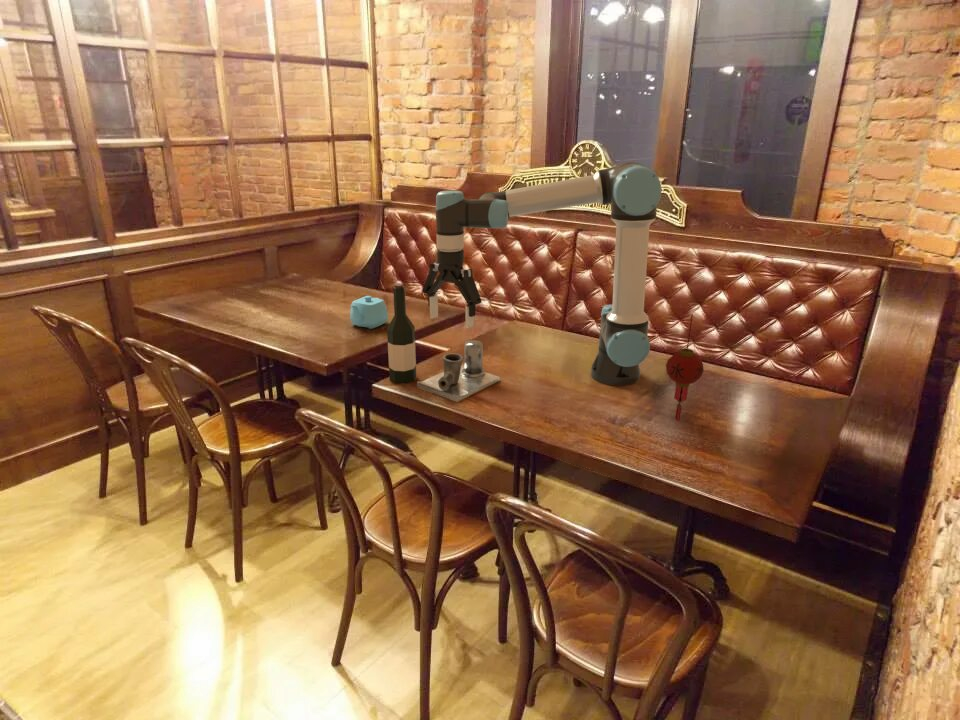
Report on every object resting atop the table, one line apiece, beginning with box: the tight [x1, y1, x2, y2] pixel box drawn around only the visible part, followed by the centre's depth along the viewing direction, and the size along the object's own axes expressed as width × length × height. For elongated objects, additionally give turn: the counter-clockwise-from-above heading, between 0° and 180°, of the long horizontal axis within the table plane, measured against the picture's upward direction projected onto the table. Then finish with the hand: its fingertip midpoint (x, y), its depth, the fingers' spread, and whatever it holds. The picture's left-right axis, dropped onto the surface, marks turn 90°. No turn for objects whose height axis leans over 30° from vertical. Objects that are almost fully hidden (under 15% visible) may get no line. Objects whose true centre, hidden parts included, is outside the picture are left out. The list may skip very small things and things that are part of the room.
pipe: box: [438, 352, 464, 390], centre depth 183 cm, size 6×13×8 cm, turn 165°
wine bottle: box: [386, 283, 417, 385], centre depth 186 cm, size 8×8×30 cm
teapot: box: [349, 295, 389, 330], centre depth 237 cm, size 12×18×12 cm
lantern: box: [665, 313, 705, 421], centre depth 162 cm, size 10×10×30 cm
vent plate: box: [416, 339, 501, 403], centre depth 187 cm, size 16×21×11 cm
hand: (451, 322), depth 178 cm, fingers open, 13 cm apart
